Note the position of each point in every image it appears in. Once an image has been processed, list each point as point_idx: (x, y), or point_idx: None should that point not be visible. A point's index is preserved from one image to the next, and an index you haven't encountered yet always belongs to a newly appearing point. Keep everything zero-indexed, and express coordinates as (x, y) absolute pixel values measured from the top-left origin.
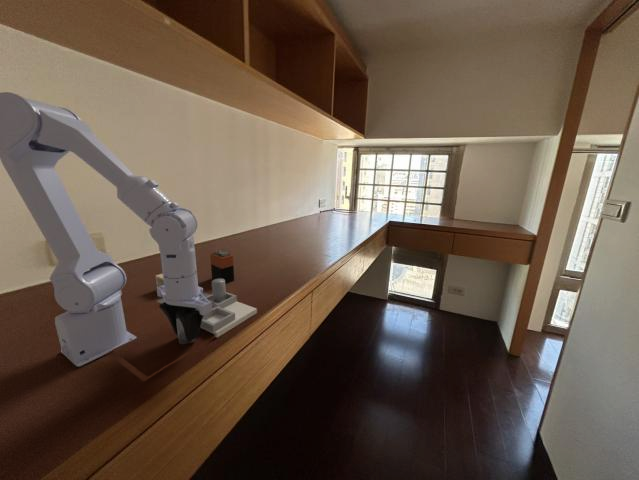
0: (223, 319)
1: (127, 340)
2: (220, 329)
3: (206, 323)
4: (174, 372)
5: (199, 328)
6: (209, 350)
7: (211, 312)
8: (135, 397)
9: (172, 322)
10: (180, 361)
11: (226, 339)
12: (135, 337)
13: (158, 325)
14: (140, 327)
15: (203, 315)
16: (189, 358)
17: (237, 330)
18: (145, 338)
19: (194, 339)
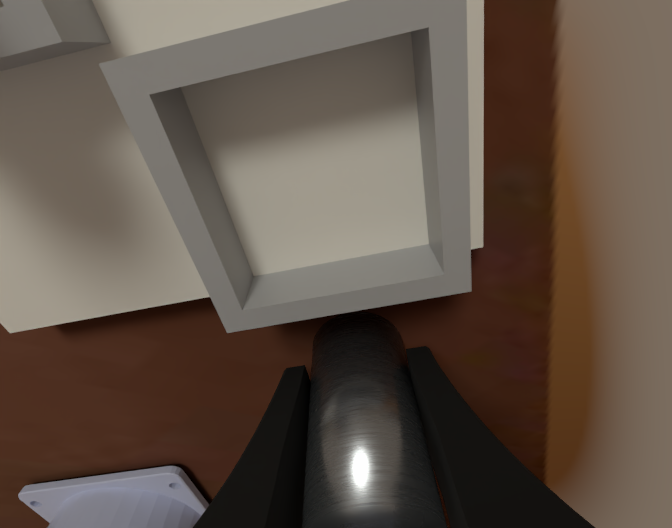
0: (466, 178)
1: (179, 492)
2: (471, 208)
3: (384, 303)
4: (514, 431)
5: (453, 389)
6: (530, 306)
7: (194, 176)
8: None
9: None
10: (475, 405)
11: (541, 191)
12: (172, 476)
13: (80, 389)
14: (60, 436)
15: (550, 496)
16: (491, 380)
17: (531, 54)
18: (185, 441)
19: (401, 345)
